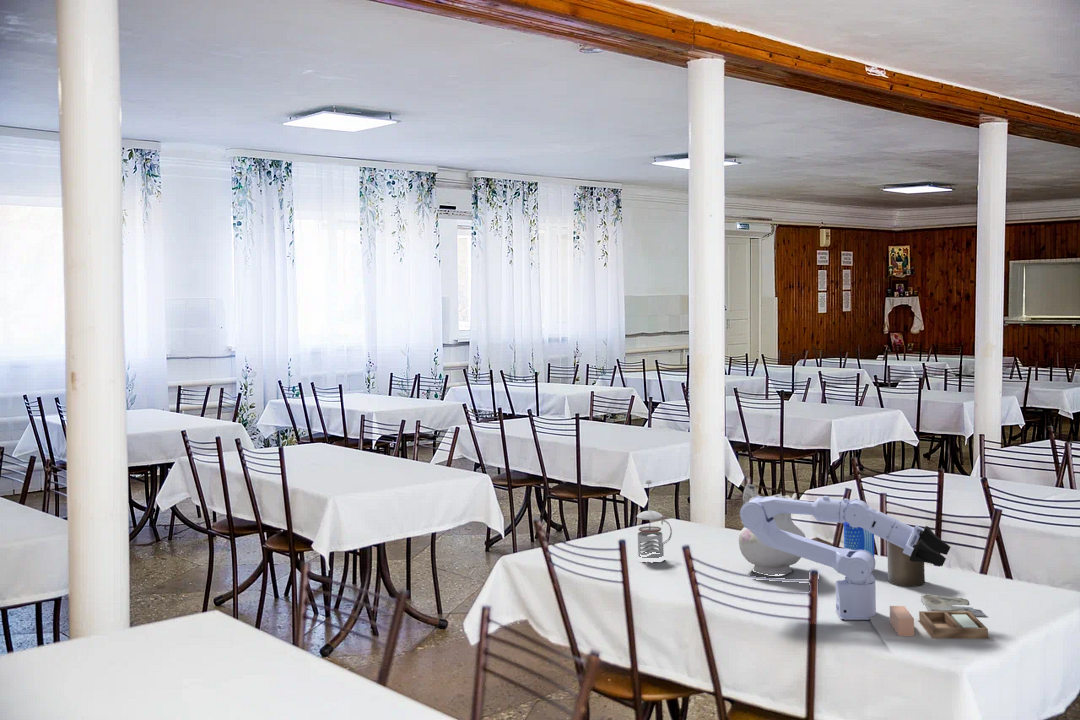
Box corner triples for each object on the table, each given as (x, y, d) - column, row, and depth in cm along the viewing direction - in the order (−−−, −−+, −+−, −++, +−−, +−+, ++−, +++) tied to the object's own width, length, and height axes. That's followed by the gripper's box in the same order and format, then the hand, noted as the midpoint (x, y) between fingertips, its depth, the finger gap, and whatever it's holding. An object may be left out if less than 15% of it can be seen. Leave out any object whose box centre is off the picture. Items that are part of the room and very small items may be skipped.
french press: (634, 556, 326) (631, 477, 325) (670, 555, 325) (668, 476, 324) (635, 563, 316) (633, 482, 315) (673, 562, 315) (671, 481, 314)
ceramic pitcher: (720, 573, 305) (714, 491, 302) (760, 556, 317) (754, 477, 315) (781, 587, 288) (776, 500, 286) (820, 568, 301) (815, 485, 299)
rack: (932, 641, 234) (931, 628, 234) (917, 623, 248) (917, 611, 248) (989, 642, 233) (989, 628, 233) (972, 623, 246) (972, 611, 246)
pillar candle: (930, 586, 280) (929, 531, 280) (894, 587, 280) (893, 532, 280) (916, 577, 290) (916, 524, 289) (882, 578, 290) (881, 525, 289)
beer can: (880, 570, 298) (879, 516, 297) (857, 574, 295) (856, 519, 294) (861, 564, 306) (860, 511, 305) (838, 568, 303) (837, 514, 302)
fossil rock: (918, 601, 269) (918, 592, 269) (979, 603, 266) (979, 594, 265) (928, 620, 252) (928, 610, 252) (994, 623, 248) (994, 613, 248)
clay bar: (898, 639, 237) (898, 618, 237) (890, 626, 247) (889, 605, 247) (914, 639, 237) (913, 618, 236) (904, 626, 247) (904, 606, 246)
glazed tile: (963, 635, 235) (963, 627, 235) (951, 622, 245) (951, 614, 245) (978, 636, 235) (978, 627, 235) (966, 622, 245) (966, 614, 245)
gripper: (892, 526, 244) (949, 553, 238) (903, 507, 256) (957, 532, 251) (881, 551, 246) (936, 578, 241) (892, 530, 259) (945, 556, 253)
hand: (946, 556), depth 246 cm, fingers open, 7 cm apart
